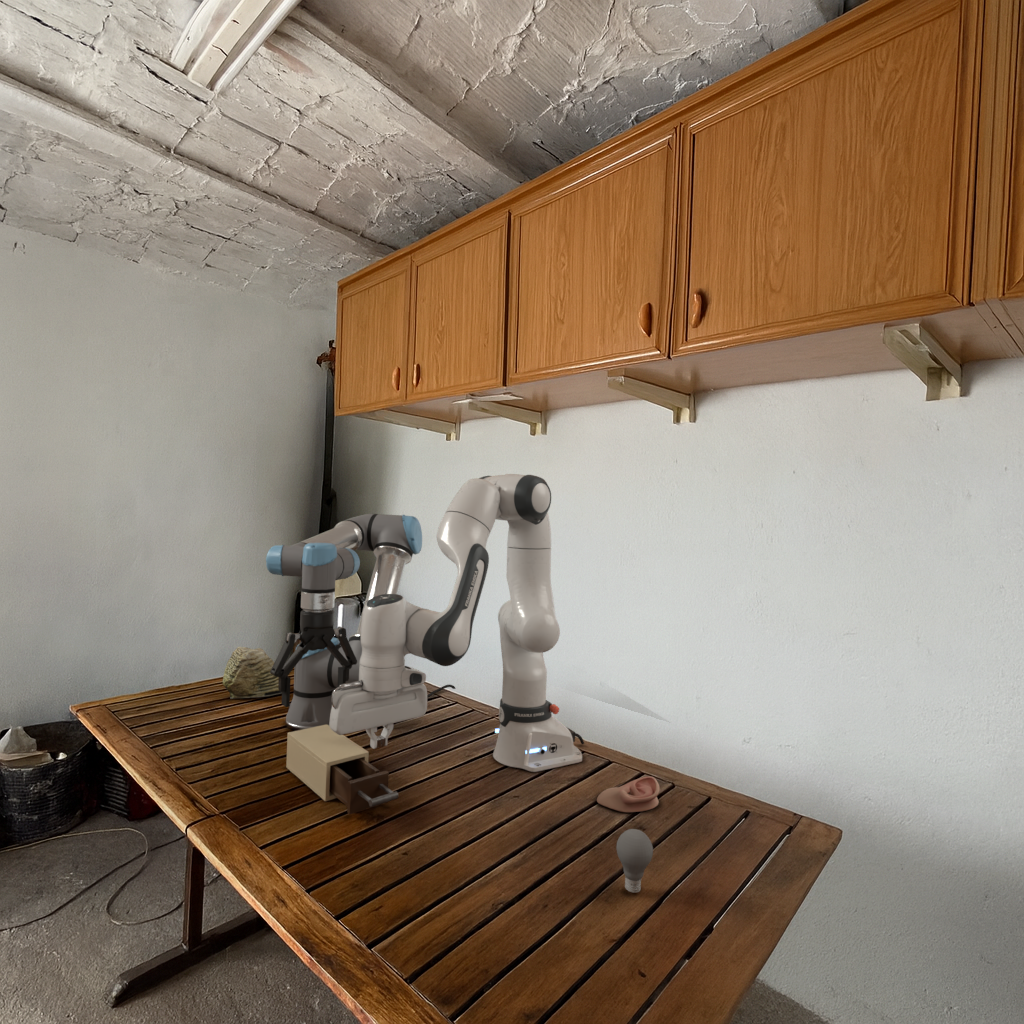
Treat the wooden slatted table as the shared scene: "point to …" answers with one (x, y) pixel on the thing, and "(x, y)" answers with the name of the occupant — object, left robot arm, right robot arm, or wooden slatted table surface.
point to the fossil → (250, 674)
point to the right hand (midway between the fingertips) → (378, 746)
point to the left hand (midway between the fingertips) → (314, 700)
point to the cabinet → (319, 756)
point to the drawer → (360, 785)
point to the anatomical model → (632, 795)
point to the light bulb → (634, 857)
